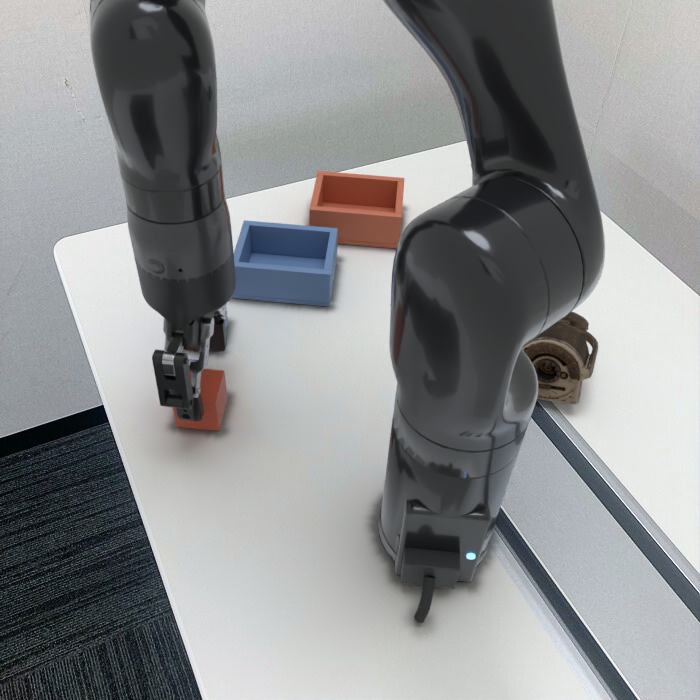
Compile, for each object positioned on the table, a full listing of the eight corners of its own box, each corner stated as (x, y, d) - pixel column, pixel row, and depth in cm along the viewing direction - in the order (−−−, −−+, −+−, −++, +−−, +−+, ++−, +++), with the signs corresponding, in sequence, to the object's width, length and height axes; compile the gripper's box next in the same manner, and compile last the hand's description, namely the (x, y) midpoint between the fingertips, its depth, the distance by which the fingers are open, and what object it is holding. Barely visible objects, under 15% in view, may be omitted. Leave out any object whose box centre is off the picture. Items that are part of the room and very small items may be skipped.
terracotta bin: (398, 248, 89) (401, 217, 86) (309, 241, 90) (309, 209, 86) (401, 209, 95) (404, 177, 91) (317, 202, 95) (317, 170, 92)
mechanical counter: (475, 334, 72) (567, 373, 66) (550, 264, 78) (641, 294, 72) (480, 387, 77) (567, 428, 71) (551, 317, 83) (637, 350, 76)
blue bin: (329, 306, 82) (330, 274, 79) (232, 298, 82) (229, 265, 79) (336, 259, 87) (337, 227, 84) (246, 252, 88) (243, 220, 84)
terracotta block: (219, 431, 70) (215, 403, 67) (176, 427, 70) (170, 399, 67) (228, 398, 73) (224, 370, 70) (186, 394, 73) (181, 366, 70)
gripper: (206, 313, 53) (225, 449, 65) (251, 195, 62) (260, 331, 74) (102, 300, 53) (139, 437, 65) (163, 184, 63) (185, 322, 75)
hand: (203, 381), depth 70 cm, fingers open, 8 cm apart
